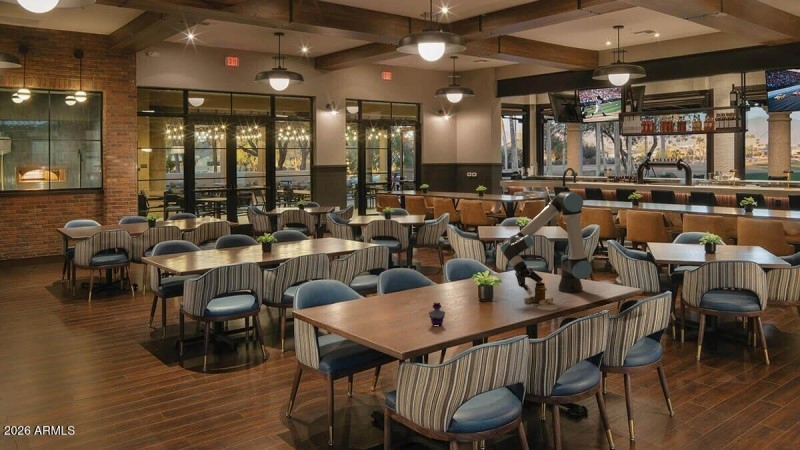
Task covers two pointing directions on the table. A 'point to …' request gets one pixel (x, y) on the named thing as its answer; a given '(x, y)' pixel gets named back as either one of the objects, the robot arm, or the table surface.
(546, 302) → the rail holder
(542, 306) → the plate
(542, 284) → the condiment
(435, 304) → the potion bottle
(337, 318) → the table surface
